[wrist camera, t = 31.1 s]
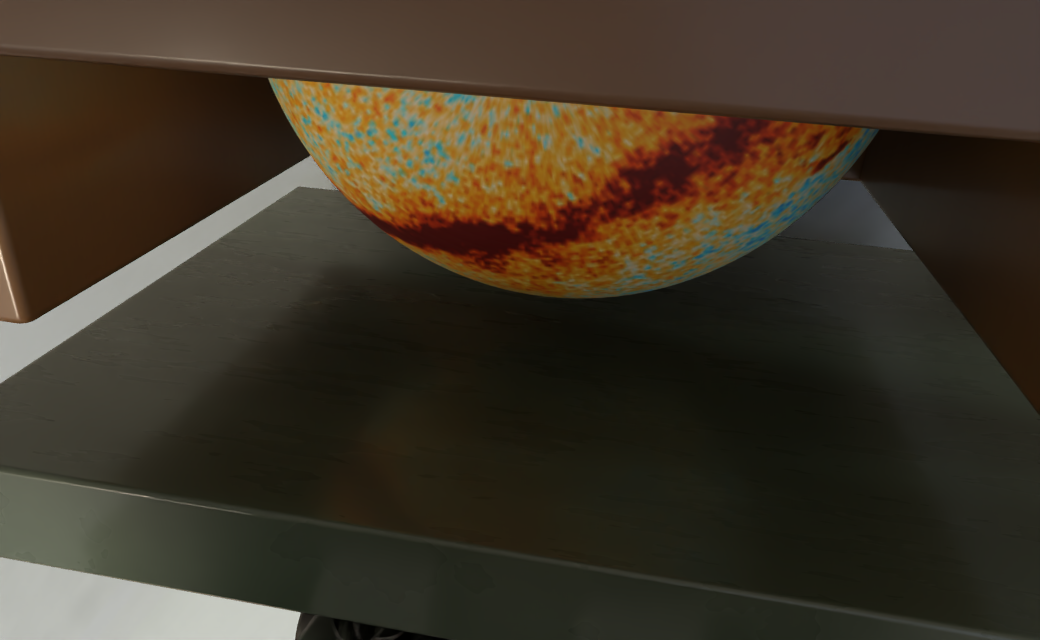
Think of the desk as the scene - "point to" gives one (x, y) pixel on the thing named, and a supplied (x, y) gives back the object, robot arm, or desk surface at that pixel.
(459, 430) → the drawer
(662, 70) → the cabinet
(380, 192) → the ball
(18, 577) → the desk surface
